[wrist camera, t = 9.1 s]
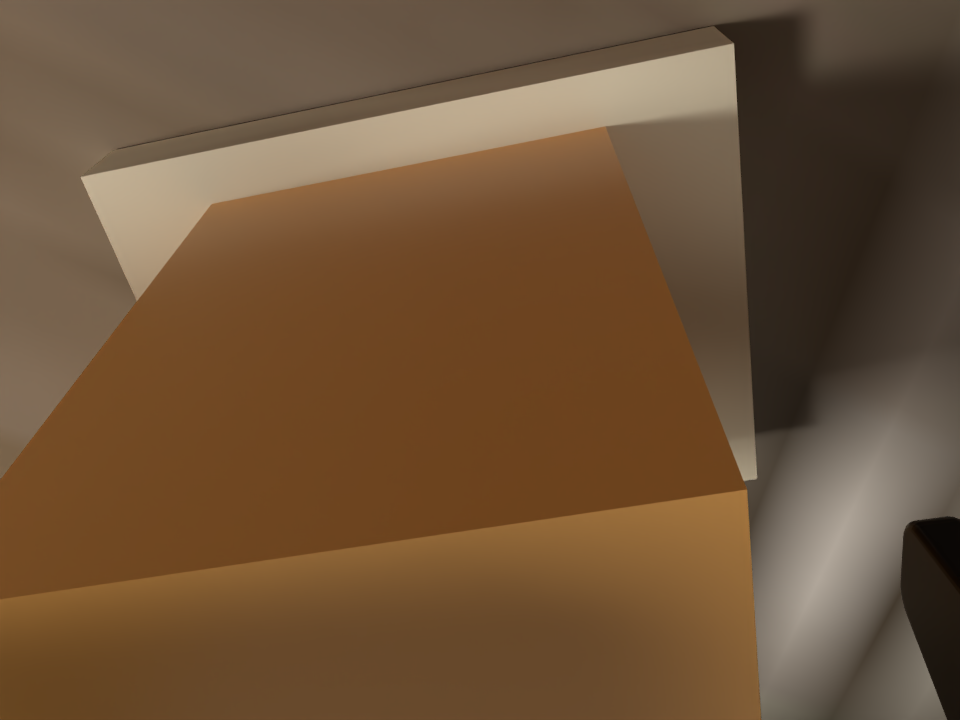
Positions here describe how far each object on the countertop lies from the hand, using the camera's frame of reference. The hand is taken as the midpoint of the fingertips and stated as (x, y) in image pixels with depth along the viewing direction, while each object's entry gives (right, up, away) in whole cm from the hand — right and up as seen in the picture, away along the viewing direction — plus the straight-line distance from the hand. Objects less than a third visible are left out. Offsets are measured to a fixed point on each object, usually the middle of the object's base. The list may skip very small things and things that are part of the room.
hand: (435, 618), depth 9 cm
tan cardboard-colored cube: (0, +3, +5) cm, 6 cm away
